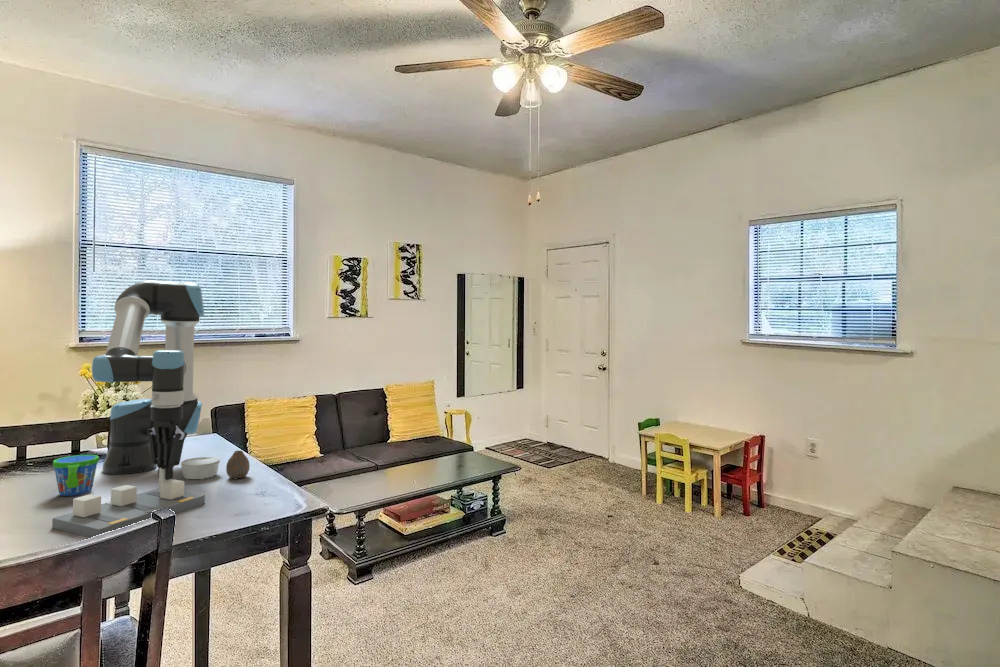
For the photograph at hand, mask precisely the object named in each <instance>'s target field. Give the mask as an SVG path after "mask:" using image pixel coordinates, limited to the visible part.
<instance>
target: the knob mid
mask: <svg viewBox="0 0 1000 667" xmlns="http://www.w3.org/2000/svg"><path fill="white" fill-rule="evenodd" d="M110 489H111V490H110V501H111V504H113V505H117V506H124V505H127V504H131V503H134V502H137V494H138V492H137V491H138V488H137V486H134V485H129V484H124V485H121V486H117V487H114V488H113V487H112V488H110Z"/></svg>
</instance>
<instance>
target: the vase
mask: <svg viewBox="0 0 1000 667" xmlns="http://www.w3.org/2000/svg"><path fill="white" fill-rule="evenodd" d="M250 466H251V465H250V461H249V458H248V457H247V456H246V455H245V454H244V451H243V450H234V452H233V454H232V455H231V456H230V458H228V460H227V462H226V466H225V469H226V470H225V471H226V474H227V476H228V477H229V479H231V478H242V477H244V478H245V477H246V476H247V475H249V471H250ZM242 479H243V478H242Z"/></svg>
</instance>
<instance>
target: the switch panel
mask: <svg viewBox="0 0 1000 667" xmlns="http://www.w3.org/2000/svg"><path fill="white" fill-rule="evenodd" d="M205 498H206V495H205V494H200V493H195V492H188V491H185V490H184V496H181V497H178V498H174V499H171V500H170V499H165V498H160V492H159V487H158V488H155V489H151V490H148V491H144V492H139V493H137V502H134V503H131V504H127V505H124V506H117V505H113V504H111V500H110V501H108V502H105V503H101V512H100V513H97V514H93V515H90V516H87V517H80V516H75V515H73V511H72V512H69V513H65V514H62V515H57V516H56V517H52V522H51V523H52V524H51V527H52V529H54V530H59V531H63V532H67V533H69V534H70V533H71V534H75V535H79V536H82V537H85V538H86V537H87V538H90V537H93V536H96V535H99V534H102V533H105V532H108V531H112V530H116V529H118V528H122V527H125V526H128V525H131V524H133V523H137V522H139V521H142V520H146V519H149V518H151V513H152V511H154V510H158V509H162V508H168V509H171V510H172V511H174V512H175V513H176V514H179V513H182V512H184V511H188V510H190V509H193V508H197V507H199V506H201V505H202V506H203V505H205V502H206V501H205V500H206V499H205Z"/></svg>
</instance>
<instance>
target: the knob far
mask: <svg viewBox="0 0 1000 667" xmlns="http://www.w3.org/2000/svg"><path fill="white" fill-rule="evenodd" d="M184 491H185V481H184V480H179V479H175V478H174V479H172V480H170V481H166V482H163V483H161V486H160V498H165V499H170V500H171V499H174V498H178V497H181V496H184Z"/></svg>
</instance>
